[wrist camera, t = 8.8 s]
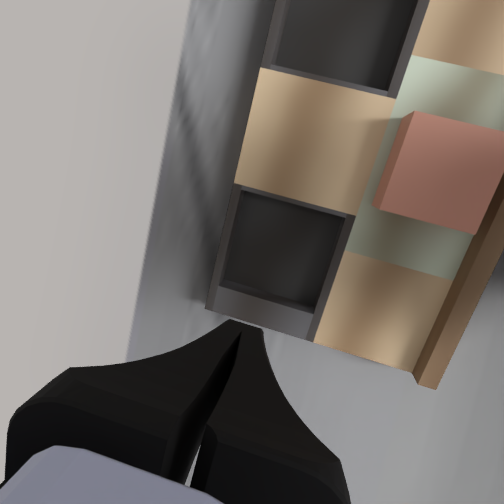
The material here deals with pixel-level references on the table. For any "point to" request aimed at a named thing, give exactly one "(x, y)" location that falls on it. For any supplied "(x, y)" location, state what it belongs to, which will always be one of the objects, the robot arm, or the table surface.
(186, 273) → the table surface
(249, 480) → the robot arm
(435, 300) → the trap board
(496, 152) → the tile block
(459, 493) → the table surface
